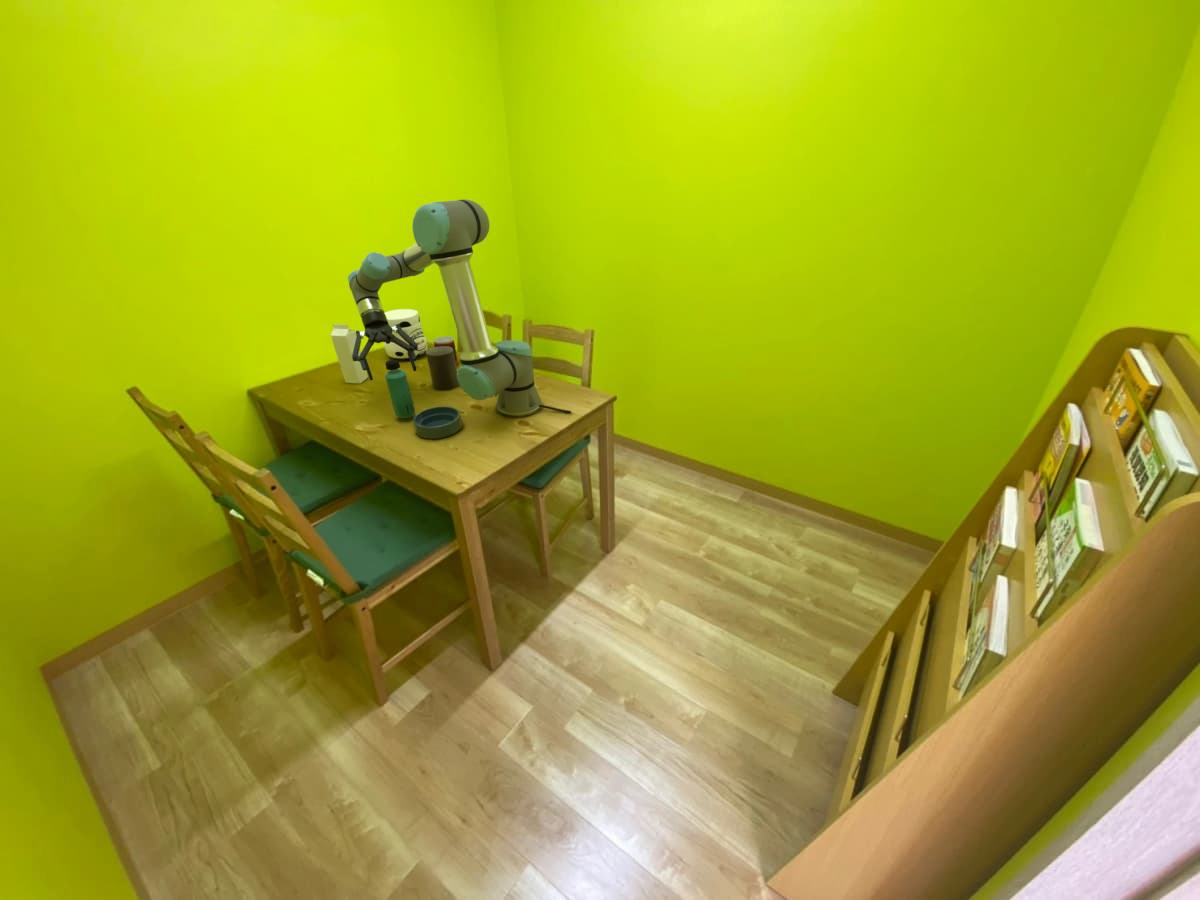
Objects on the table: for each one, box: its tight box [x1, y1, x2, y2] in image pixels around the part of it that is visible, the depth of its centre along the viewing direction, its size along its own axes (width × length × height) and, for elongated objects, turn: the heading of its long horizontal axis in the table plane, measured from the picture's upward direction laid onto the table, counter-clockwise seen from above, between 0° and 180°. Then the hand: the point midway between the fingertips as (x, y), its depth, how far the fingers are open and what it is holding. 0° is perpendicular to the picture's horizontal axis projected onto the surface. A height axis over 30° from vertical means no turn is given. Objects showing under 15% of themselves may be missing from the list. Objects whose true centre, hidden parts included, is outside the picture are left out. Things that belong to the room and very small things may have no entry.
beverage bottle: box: [384, 359, 416, 419], centre depth 154 cm, size 6×7×20 cm
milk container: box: [383, 308, 429, 360], centre depth 203 cm, size 17×17×18 cm
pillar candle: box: [425, 346, 460, 391], centre depth 177 cm, size 10×10×15 cm
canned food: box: [433, 335, 459, 366], centre depth 195 cm, size 8×8×11 cm
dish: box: [412, 405, 463, 440], centre depth 152 cm, size 14×14×4 cm
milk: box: [330, 323, 369, 385], centre depth 180 cm, size 6×6×22 cm
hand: (393, 373), depth 154 cm, fingers open, 13 cm apart
